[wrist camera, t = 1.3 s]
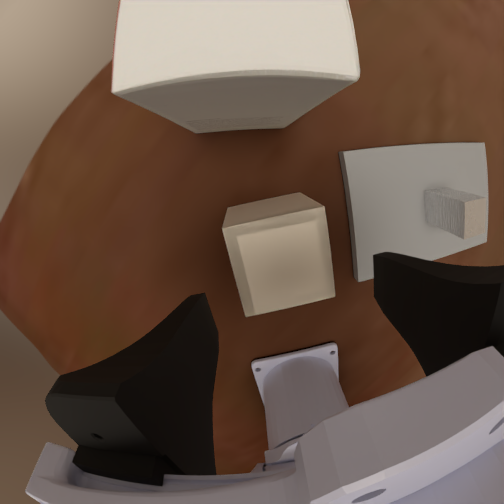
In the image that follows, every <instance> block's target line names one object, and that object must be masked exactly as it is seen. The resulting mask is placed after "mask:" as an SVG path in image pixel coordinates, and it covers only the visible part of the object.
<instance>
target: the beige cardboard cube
mask: <svg viewBox="0 0 504 504" xmlns="http://www.w3.org/2000/svg"><path fill="white" fill-rule="evenodd" d="M222 230H223V234H224V238H225V242H226V246H227V250H228V254H229V257H230V261H231V265H232V269H233V273H234V276H235V280H236V284H237V288H238V291H239V295H240V299H241V302H242V306H243V310H244V313H245V317H248V316H253V315H258V314H263V313H268V312H272V311H277V310H282V309H286V308H290V307H295V306H299V305H303V304H308V303H312V302H316V301H320V300H324V299H328V298H332V297H335V287H334V277H333V267H332V258H331V249H330V241H329V234H328V226H327V219H326V212H325V206H323V205H321V204H320V203H318V202H316V201H314V200H313V199H311V198H309V197H307V196H306V195H304V194H302V193H300V192H298V193H293V194H288V195H283V196H278V197H274V198H269V199H264V200H260V201H255V202H250V203H246V204H241V205H237V206H233V207H228V208H227V212H226V216H225V219H224V223H223V227H222Z"/></svg>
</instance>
